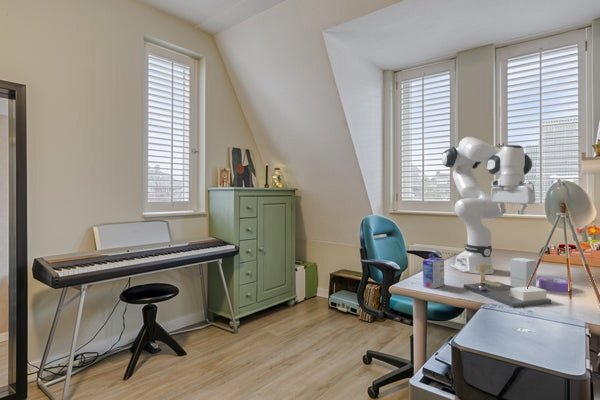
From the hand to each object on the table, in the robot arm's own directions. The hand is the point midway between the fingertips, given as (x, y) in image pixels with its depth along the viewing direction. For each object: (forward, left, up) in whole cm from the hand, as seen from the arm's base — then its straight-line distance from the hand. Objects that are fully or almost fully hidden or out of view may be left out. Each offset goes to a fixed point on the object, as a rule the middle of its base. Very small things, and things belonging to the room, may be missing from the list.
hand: (511, 213), depth 151 cm
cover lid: (+15, -6, -32) cm, 36 cm away
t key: (+6, -16, -30) cm, 34 cm away
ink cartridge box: (-12, -30, -33) cm, 46 cm away
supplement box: (0, +7, -33) cm, 34 cm away
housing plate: (+7, -10, -33) cm, 35 cm away
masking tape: (+4, +20, -34) cm, 39 cm away
